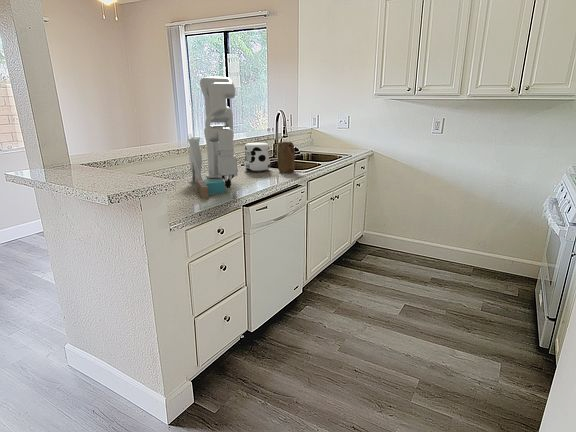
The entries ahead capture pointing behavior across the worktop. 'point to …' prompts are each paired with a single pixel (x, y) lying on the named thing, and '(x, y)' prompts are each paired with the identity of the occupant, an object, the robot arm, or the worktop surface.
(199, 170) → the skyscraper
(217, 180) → the teal block
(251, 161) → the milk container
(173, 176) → the worktop surface
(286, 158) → the block
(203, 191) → the walnut board
